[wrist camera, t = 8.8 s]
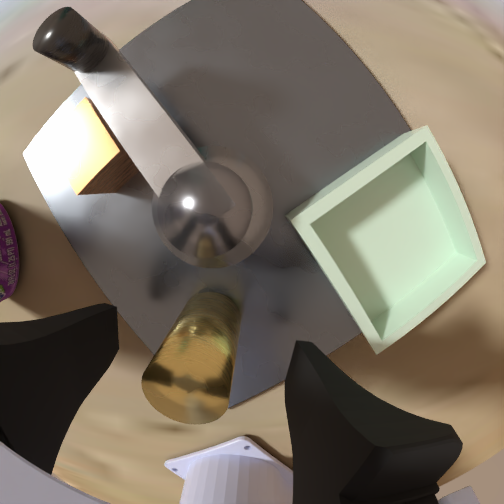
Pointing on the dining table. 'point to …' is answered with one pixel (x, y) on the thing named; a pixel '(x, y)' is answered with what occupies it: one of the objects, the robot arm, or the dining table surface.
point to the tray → (392, 236)
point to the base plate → (260, 118)
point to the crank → (152, 140)
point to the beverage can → (8, 256)
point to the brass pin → (196, 361)
